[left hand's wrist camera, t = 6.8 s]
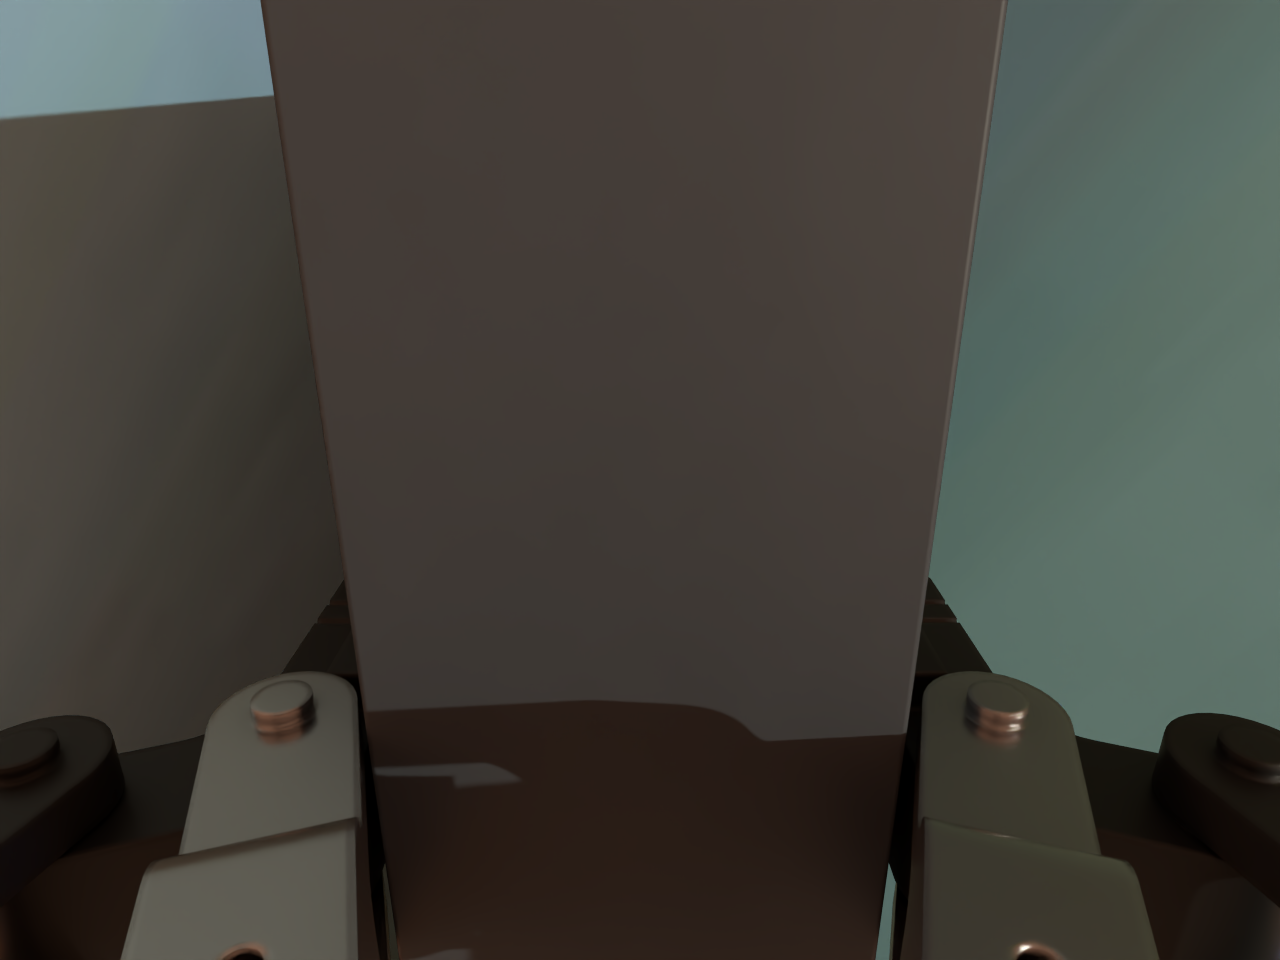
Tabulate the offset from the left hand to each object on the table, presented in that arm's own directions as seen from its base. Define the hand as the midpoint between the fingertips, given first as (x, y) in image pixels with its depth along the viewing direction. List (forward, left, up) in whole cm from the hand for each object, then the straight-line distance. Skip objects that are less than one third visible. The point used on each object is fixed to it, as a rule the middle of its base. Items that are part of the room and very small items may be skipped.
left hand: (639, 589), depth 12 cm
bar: (+16, -18, -4) cm, 24 cm away
